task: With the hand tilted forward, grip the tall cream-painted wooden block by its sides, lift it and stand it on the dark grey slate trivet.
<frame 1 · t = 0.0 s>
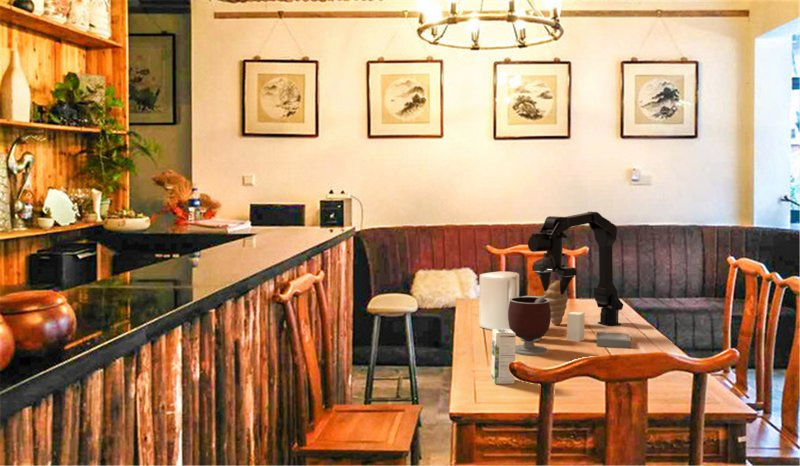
hand: (553, 292, 269), 15 cm above the table, tool pointing down, fingers open, 9 cm apart
spiral seashell: (556, 325, 283), on the table
syrup box: (503, 382, 205), on the table
paper towel roll: (503, 330, 274), on the table
mate gourd: (530, 352, 240), on the table
supplement can: (529, 340, 258), on the table
cream block: (575, 339, 257), on the table
trivet: (613, 343, 251), on the table
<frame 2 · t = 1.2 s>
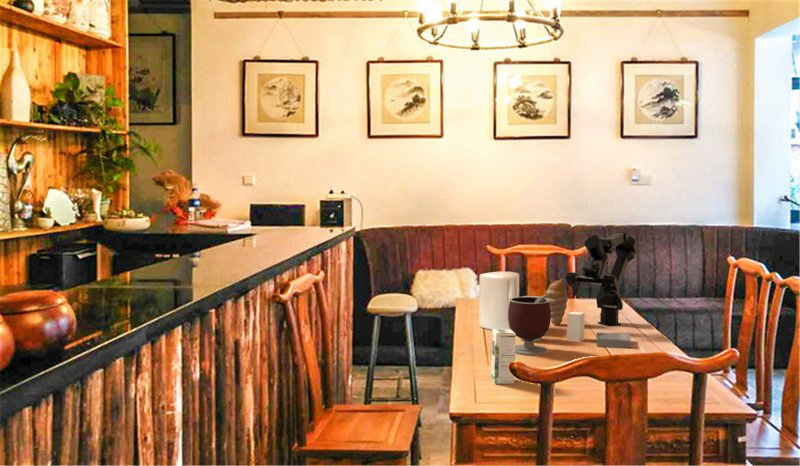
hand: (584, 299, 263), 13 cm above the table, tool tilted 45°, fingers open, 9 cm apart
nothing on the table moved.
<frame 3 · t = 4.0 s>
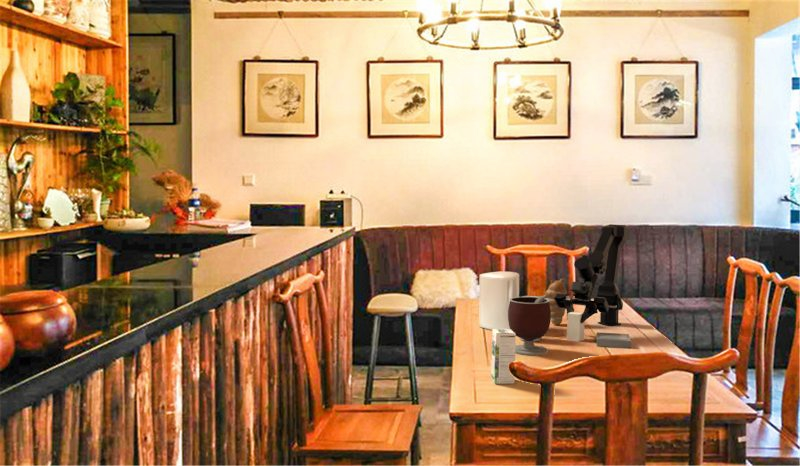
hand: (574, 321, 256), 7 cm above the table, tool tilted 45°, fingers closed on cream block, 4 cm apart
cream block: (575, 339, 257), on the table, touching gripper
everything else where it was.
when the fingers open (10 cm above the table, at t = 7.0 s): cream block stays where it is, resting on trivet.
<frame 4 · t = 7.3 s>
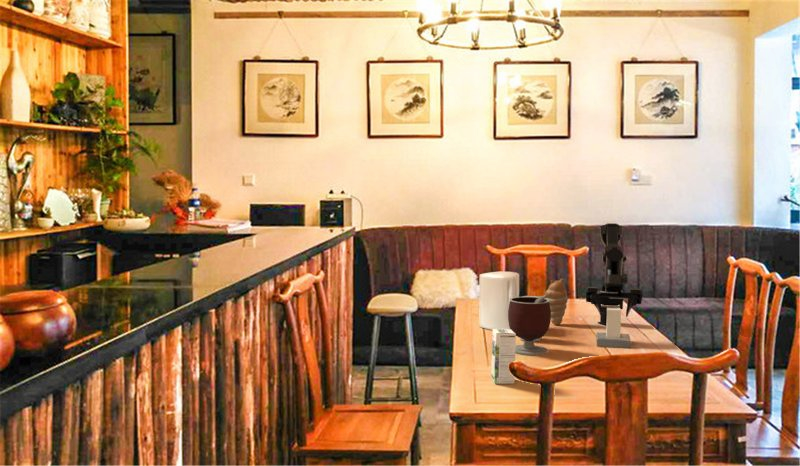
hand: (613, 315, 249), 10 cm above the table, tool tilted 45°, fingers open, 8 cm apart
cream block: (613, 336, 251), point 3 cm above the table, touching trivet
everything else where it was.
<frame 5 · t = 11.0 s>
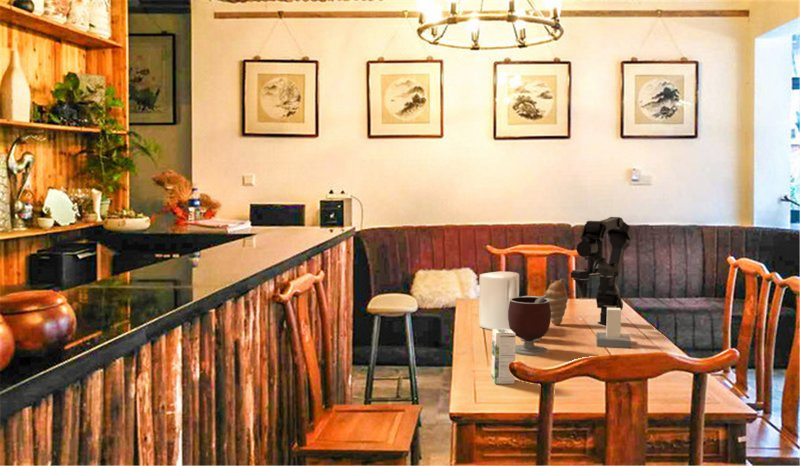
hand: (594, 296, 271), 13 cm above the table, tool pointing down, fingers open, 9 cm apart
nothing on the table moved.
at the end: cream block inside the target area on the trivet (0.0 cm from its centre), point 2.6 cm above the trivet's base; cream block tilted 0°; the gripper is holding nothing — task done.
